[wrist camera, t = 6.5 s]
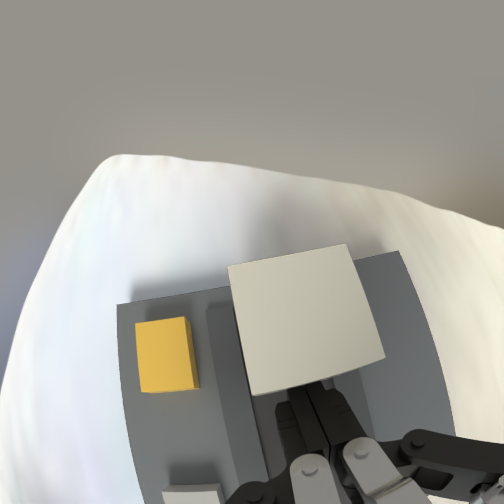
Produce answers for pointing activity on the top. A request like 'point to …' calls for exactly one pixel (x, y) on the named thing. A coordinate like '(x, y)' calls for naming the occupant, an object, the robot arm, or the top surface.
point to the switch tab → (302, 318)
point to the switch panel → (260, 407)
